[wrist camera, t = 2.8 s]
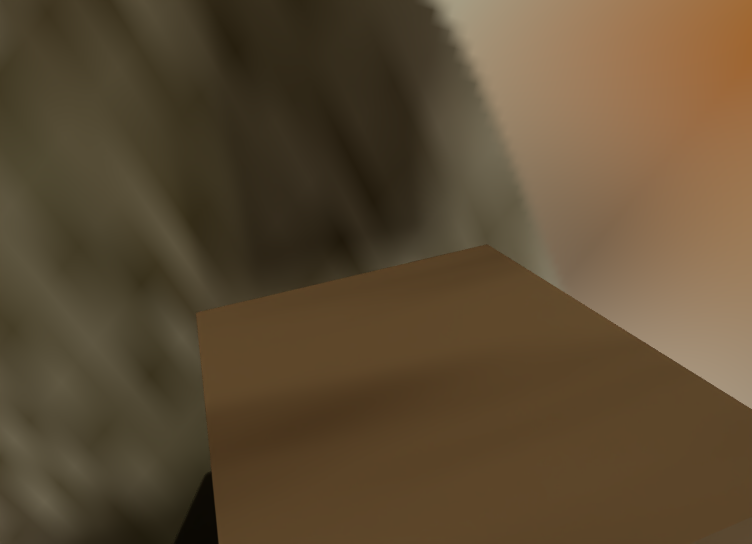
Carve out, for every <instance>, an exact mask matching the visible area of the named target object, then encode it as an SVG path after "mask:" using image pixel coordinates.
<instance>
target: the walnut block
mask: <svg viewBox="0 0 752 544" xmlns="http://www.w3.org/2000/svg"><path fill="white" fill-rule="evenodd" d="M196 318H197V328H198V339H199V349H200V359H201V369H202V379H203V389H204V399H205V409H206V420H207V430H208V440H209V450H210V460H211V470H212V480H213V490H214V501H215V511H216V521H217V531H218V541H219V544H752V409H750V408H749V407H747V406H745V405H744V404H742V403H741V402H739V401H738V400H736V399H734V398H733V397H731V396H730V395H728V394H726V393H725V392H723V391H722V390H720V389H718V388H717V387H715V386H714V385H712V384H710V383H709V382H707V381H706V380H704V379H702V378H701V377H699V376H698V375H696V374H694V373H693V372H691V371H689V370H688V369H686V368H685V367H683V366H681V365H680V364H678V363H677V362H675V361H673V360H672V359H670V358H669V357H667V356H665V355H664V354H662V353H661V352H659V351H657V350H656V349H654V348H653V347H651V346H649V345H648V344H646V343H645V342H643V341H641V340H640V339H638V338H637V337H635V336H633V335H632V334H630V333H628V332H627V331H625V330H624V329H622V328H621V327H618V326H617V325H616V324H614V323H613V322H611V321H609V320H608V319H606V318H605V317H603V316H601V315H599V314H598V313H596V312H595V311H593V310H592V309H590V308H588V307H587V306H585V305H584V304H582V303H580V302H579V301H577V300H576V299H574V298H572V297H571V296H569V295H568V294H566V293H564V292H563V291H561V290H560V289H558V288H556V287H555V286H553V285H552V284H550V283H548V282H547V281H545V280H544V279H542V278H540V277H539V276H537V275H536V274H534V273H532V272H531V271H529V270H528V269H526V268H524V267H523V266H521V265H520V264H518V263H516V262H515V261H513V260H512V259H510V258H508V257H507V256H505V255H503V254H502V253H500V252H499V251H497V250H495V249H494V248H492V247H491V246H489V245H482V246H478V247H474V248H470V249H465V250H461V251H457V252H453V253H448V254H444V255H440V256H435V257H431V258H427V259H423V260H418V261H414V262H410V263H406V264H401V265H397V266H393V267H389V268H384V269H380V270H376V271H371V272H367V273H363V274H359V275H354V276H350V277H346V278H342V279H337V280H333V281H329V282H325V283H320V284H316V285H312V286H307V287H303V288H299V289H295V290H290V291H286V292H282V293H278V294H273V295H269V296H265V297H261V298H256V299H252V300H248V301H243V302H239V303H235V304H231V305H226V306H222V307H218V308H214V309H209V310H205V311H201V312H197V313H196Z"/></svg>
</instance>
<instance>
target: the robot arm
mask: <svg viewBox="0 0 752 544" xmlns="http://www.w3.org/2000/svg"><path fill="white" fill-rule="evenodd" d="M173 544H219V541H218V531H217V521H216V511H215V501H214V490H213V480H212V471H210V472H208V473H206V474H205V475H204V477H203V479H202V481H201V483H200V486H199V488H198V490H197V492H196V494H195V496H194V499H193V501H192V503H191V505H190V507H189V509H188V511H187V514H186V516H185V518H184V520H183V522H182V524H181V527H180V529H179V531H178V533H177V535H176V537H175V539H174V542H173Z"/></svg>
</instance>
